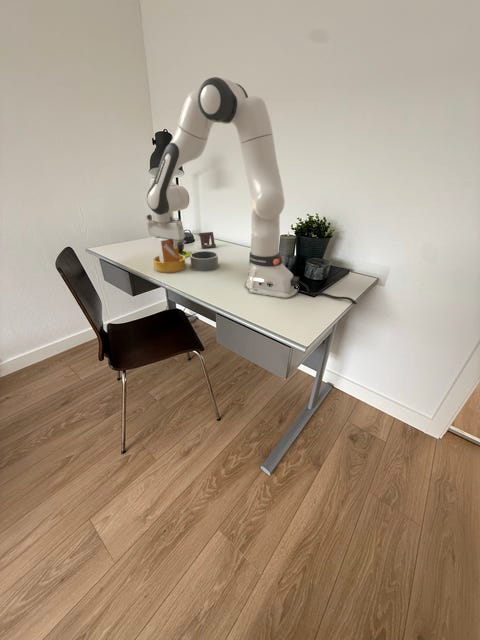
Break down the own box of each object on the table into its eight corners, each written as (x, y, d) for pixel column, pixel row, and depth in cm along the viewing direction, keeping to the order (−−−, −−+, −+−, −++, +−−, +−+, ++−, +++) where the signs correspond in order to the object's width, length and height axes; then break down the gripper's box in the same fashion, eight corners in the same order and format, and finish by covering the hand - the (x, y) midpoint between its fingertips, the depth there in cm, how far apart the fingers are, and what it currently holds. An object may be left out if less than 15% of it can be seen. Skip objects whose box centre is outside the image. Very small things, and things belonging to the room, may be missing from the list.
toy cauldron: (176, 249, 161) (174, 230, 156) (195, 253, 155) (194, 233, 149) (158, 255, 150) (155, 235, 145) (178, 260, 144) (175, 239, 138)
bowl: (191, 266, 135) (190, 256, 132) (170, 275, 124) (169, 265, 121) (170, 261, 141) (168, 252, 139) (148, 269, 130) (146, 259, 128)
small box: (164, 268, 127) (160, 240, 121) (160, 264, 132) (156, 237, 125) (180, 265, 131) (177, 238, 125) (175, 261, 136) (172, 235, 129)
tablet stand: (202, 248, 163) (201, 234, 159) (198, 245, 169) (197, 232, 165) (215, 247, 166) (215, 233, 162) (212, 244, 172) (211, 231, 168)
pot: (223, 265, 137) (223, 253, 134) (207, 273, 127) (206, 260, 124) (202, 260, 143) (201, 249, 140) (185, 267, 133) (184, 256, 130)
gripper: (186, 217, 118) (188, 248, 125) (153, 213, 127) (157, 242, 134) (176, 220, 113) (179, 252, 120) (143, 215, 122) (148, 245, 129)
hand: (167, 247), depth 127 cm, fingers closed on small box, 7 cm apart
